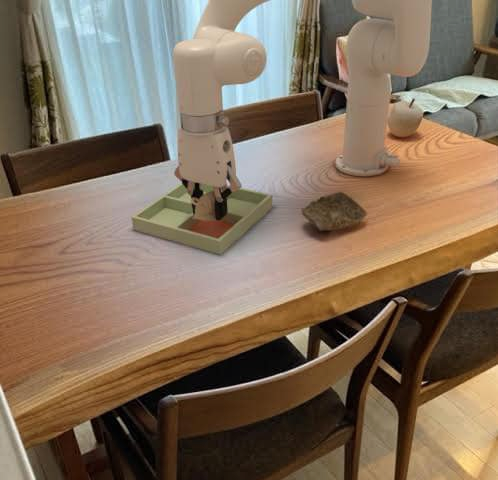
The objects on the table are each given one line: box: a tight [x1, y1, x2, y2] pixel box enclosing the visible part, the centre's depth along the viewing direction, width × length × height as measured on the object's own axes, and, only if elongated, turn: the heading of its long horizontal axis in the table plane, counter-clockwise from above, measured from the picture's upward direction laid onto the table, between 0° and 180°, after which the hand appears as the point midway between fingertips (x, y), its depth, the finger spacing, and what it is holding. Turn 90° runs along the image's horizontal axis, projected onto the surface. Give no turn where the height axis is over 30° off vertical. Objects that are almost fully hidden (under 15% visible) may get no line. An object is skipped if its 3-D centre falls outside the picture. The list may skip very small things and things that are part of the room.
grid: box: [130, 182, 273, 255], centre depth 112 cm, size 21×21×3 cm
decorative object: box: [387, 97, 424, 138], centre depth 142 cm, size 9×9×10 cm
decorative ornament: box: [190, 190, 217, 221], centre depth 103 cm, size 4×8×5 cm, turn 130°
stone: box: [300, 191, 368, 232], centre depth 108 cm, size 13×8×8 cm
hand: (210, 213), depth 105 cm, fingers closed on decorative ornament, 4 cm apart
